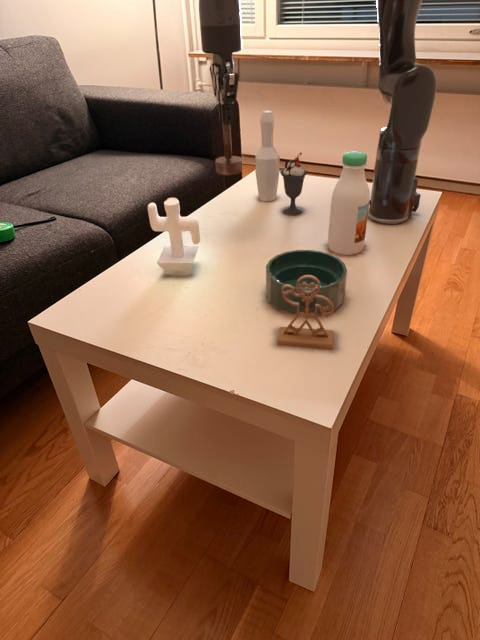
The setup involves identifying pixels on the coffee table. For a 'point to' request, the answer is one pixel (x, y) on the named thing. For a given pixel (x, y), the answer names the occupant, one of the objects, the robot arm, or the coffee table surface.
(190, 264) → the figurine
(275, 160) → the low poly bottle
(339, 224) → the milk bottle
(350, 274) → the coffee table surface
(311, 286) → the gingerbread man figurine
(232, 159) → the wooden peg stand
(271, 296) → the bowl
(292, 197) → the sundae
